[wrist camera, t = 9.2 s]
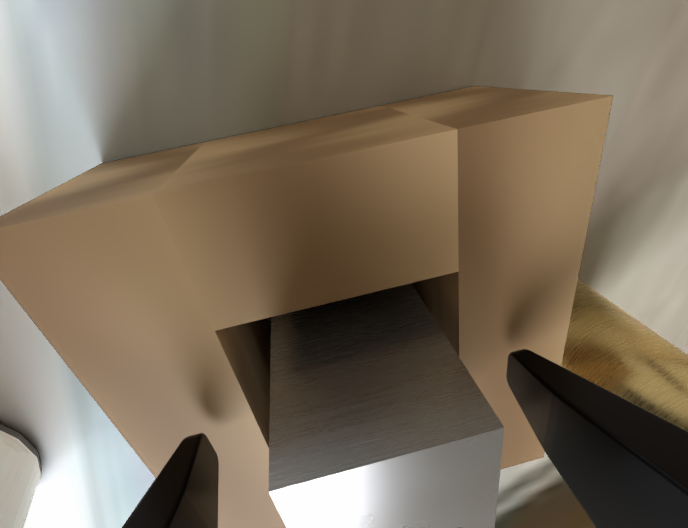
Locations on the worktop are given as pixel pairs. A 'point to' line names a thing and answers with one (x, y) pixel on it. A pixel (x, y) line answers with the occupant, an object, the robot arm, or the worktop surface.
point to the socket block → (309, 260)
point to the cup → (16, 477)
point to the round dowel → (626, 357)
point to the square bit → (377, 420)
